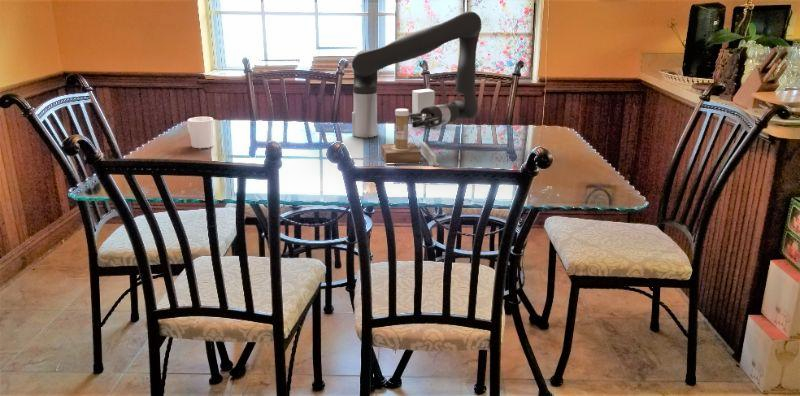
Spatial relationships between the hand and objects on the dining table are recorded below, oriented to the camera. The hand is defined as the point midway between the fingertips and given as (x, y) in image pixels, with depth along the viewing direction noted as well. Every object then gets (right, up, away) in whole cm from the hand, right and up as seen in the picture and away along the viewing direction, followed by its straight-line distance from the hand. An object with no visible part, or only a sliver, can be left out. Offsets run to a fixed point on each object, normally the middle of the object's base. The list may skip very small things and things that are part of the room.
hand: (404, 122), depth 219 cm
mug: (-76, -7, +17) cm, 78 cm away
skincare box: (+8, +6, +55) cm, 56 cm away
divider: (+8, -12, +5) cm, 15 cm away
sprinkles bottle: (-1, -9, +1) cm, 9 cm away
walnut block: (-1, -12, +3) cm, 13 cm away
